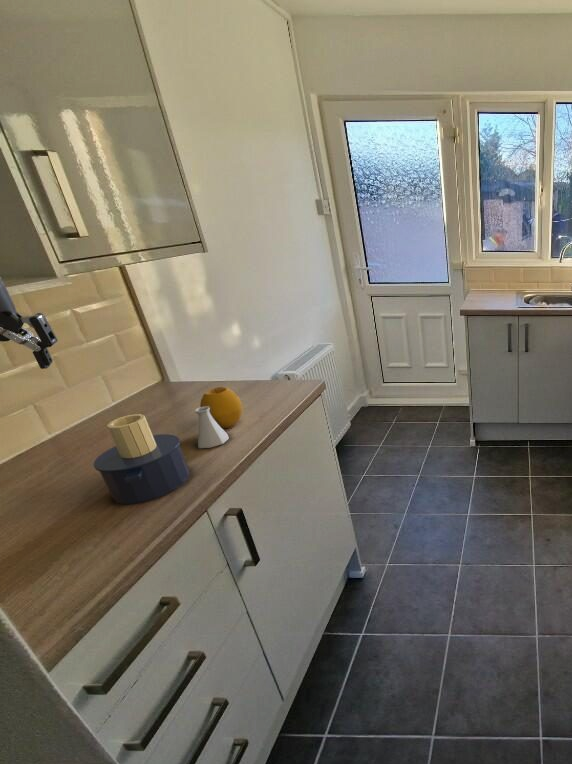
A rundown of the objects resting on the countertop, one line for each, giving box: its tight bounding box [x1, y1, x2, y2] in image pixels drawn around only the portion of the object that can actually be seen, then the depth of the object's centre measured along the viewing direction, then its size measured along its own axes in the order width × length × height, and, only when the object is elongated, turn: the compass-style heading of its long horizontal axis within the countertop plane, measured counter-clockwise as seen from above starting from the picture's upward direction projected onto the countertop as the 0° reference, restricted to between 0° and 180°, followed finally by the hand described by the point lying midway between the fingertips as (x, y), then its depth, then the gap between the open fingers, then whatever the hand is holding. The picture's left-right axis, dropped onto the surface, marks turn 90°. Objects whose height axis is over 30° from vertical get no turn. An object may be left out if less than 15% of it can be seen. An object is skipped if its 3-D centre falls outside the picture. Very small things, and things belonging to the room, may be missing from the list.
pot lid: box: [93, 433, 181, 473], centre depth 90 cm, size 15×15×6 cm
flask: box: [194, 406, 230, 449], centre depth 109 cm, size 7×7×10 cm
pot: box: [99, 444, 190, 505], centre depth 93 cm, size 14×19×8 cm
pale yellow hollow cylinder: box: [106, 413, 157, 458], centre depth 89 cm, size 6×6×8 cm
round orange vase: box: [199, 386, 243, 429], centre depth 118 cm, size 10×10×12 cm
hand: (15, 369), depth 78 cm, fingers open, 8 cm apart
